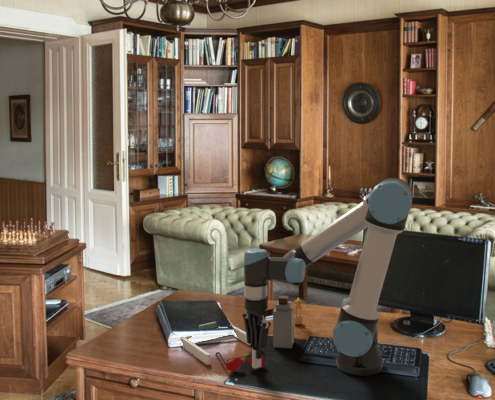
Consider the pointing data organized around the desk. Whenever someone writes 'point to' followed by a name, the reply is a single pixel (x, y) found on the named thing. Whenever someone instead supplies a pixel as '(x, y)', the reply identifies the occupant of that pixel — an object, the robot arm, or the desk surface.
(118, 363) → the desk surface
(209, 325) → the display cradle
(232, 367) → the glasses
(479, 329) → the desk surface
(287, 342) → the perfume bottle
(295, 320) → the figurine
